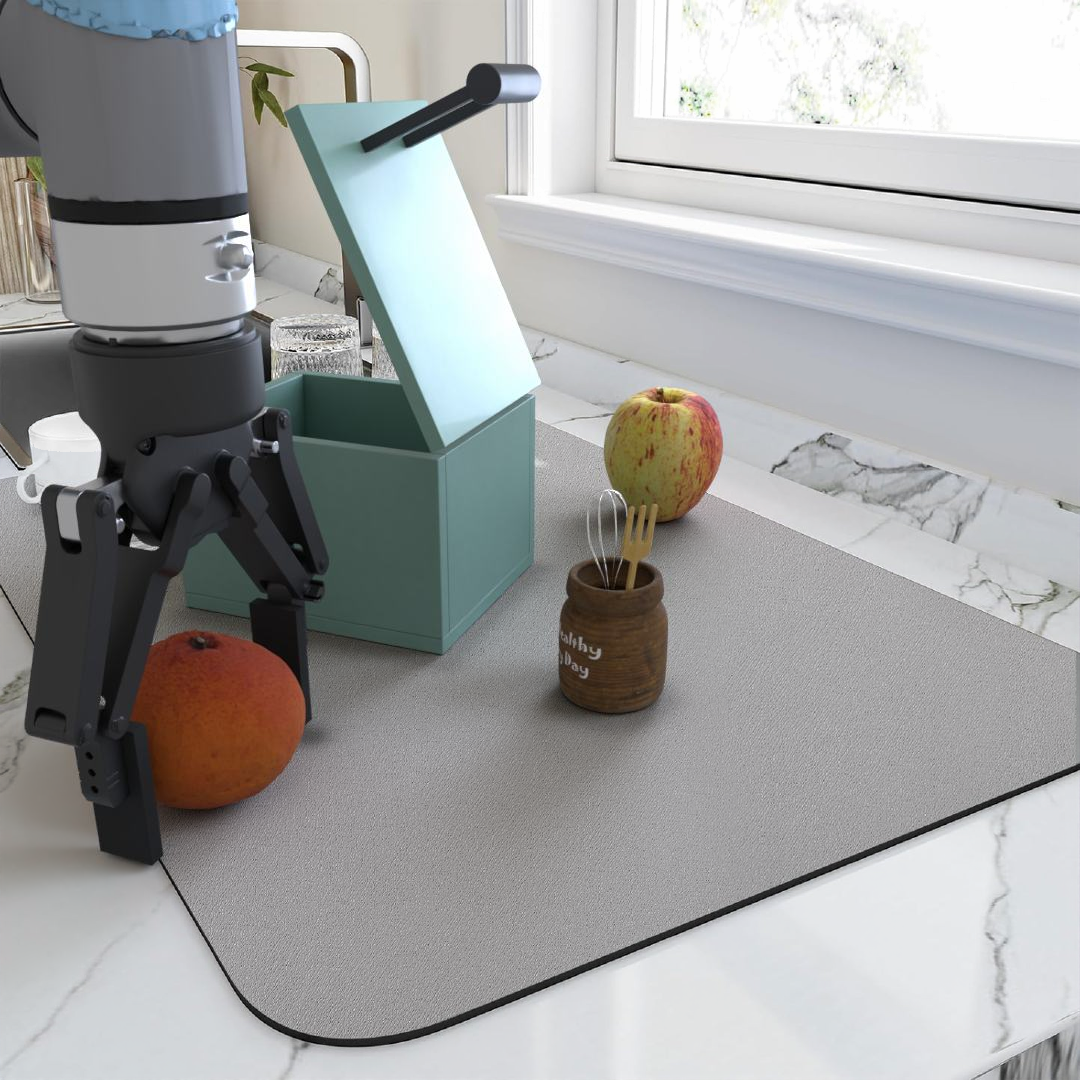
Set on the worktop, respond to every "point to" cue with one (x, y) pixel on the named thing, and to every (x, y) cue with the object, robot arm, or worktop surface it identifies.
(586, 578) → the utensil holder
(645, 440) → the apple
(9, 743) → the worktop surface
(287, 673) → the fruit
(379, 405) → the teal storage box
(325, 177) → the lid
